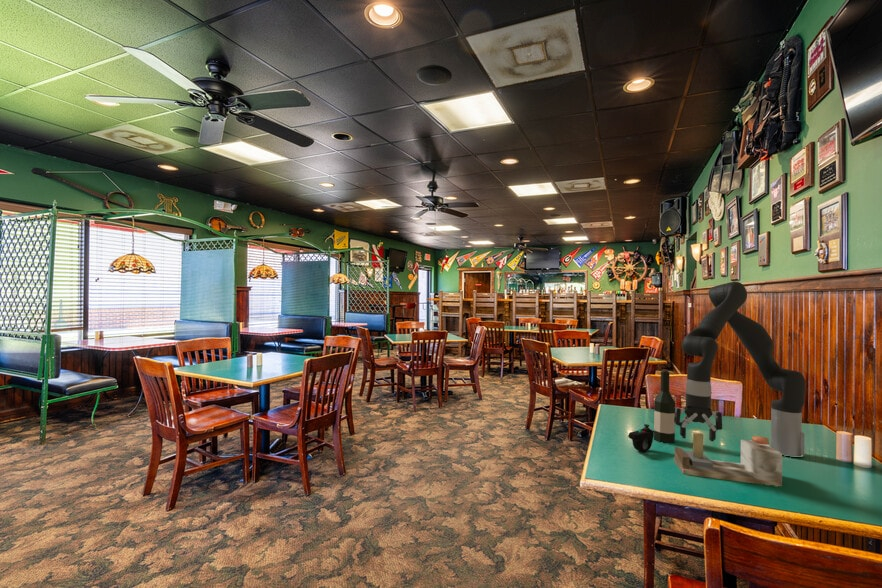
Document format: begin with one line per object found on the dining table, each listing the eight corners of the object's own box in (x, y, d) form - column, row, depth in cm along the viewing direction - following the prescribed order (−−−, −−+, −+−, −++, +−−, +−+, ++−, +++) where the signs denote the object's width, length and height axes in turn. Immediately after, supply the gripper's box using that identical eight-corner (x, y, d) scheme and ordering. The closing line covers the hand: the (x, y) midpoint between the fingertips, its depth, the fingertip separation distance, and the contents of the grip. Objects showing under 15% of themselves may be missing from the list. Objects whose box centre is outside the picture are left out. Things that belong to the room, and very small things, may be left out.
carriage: (702, 457, 145) (703, 430, 145) (712, 468, 135) (713, 439, 135) (684, 455, 147) (684, 428, 147) (692, 465, 137) (692, 437, 137)
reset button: (765, 440, 137) (765, 436, 137) (771, 445, 133) (771, 441, 133) (750, 439, 138) (750, 435, 138) (755, 443, 134) (755, 439, 134)
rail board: (763, 472, 140) (764, 441, 140) (782, 487, 129) (782, 454, 129) (673, 460, 148) (674, 432, 148) (683, 474, 137) (683, 443, 137)
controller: (655, 450, 158) (656, 425, 158) (636, 456, 152) (636, 429, 152) (645, 447, 162) (645, 422, 162) (626, 452, 156) (626, 426, 156)
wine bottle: (669, 437, 174) (670, 368, 175) (679, 444, 166) (680, 371, 167) (649, 436, 175) (650, 367, 176) (658, 443, 167) (659, 371, 167)
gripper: (717, 392, 143) (716, 438, 143) (672, 388, 147) (671, 433, 147) (725, 397, 136) (724, 445, 135) (678, 393, 140) (677, 440, 140)
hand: (697, 439), depth 141 cm, fingers open, 8 cm apart
